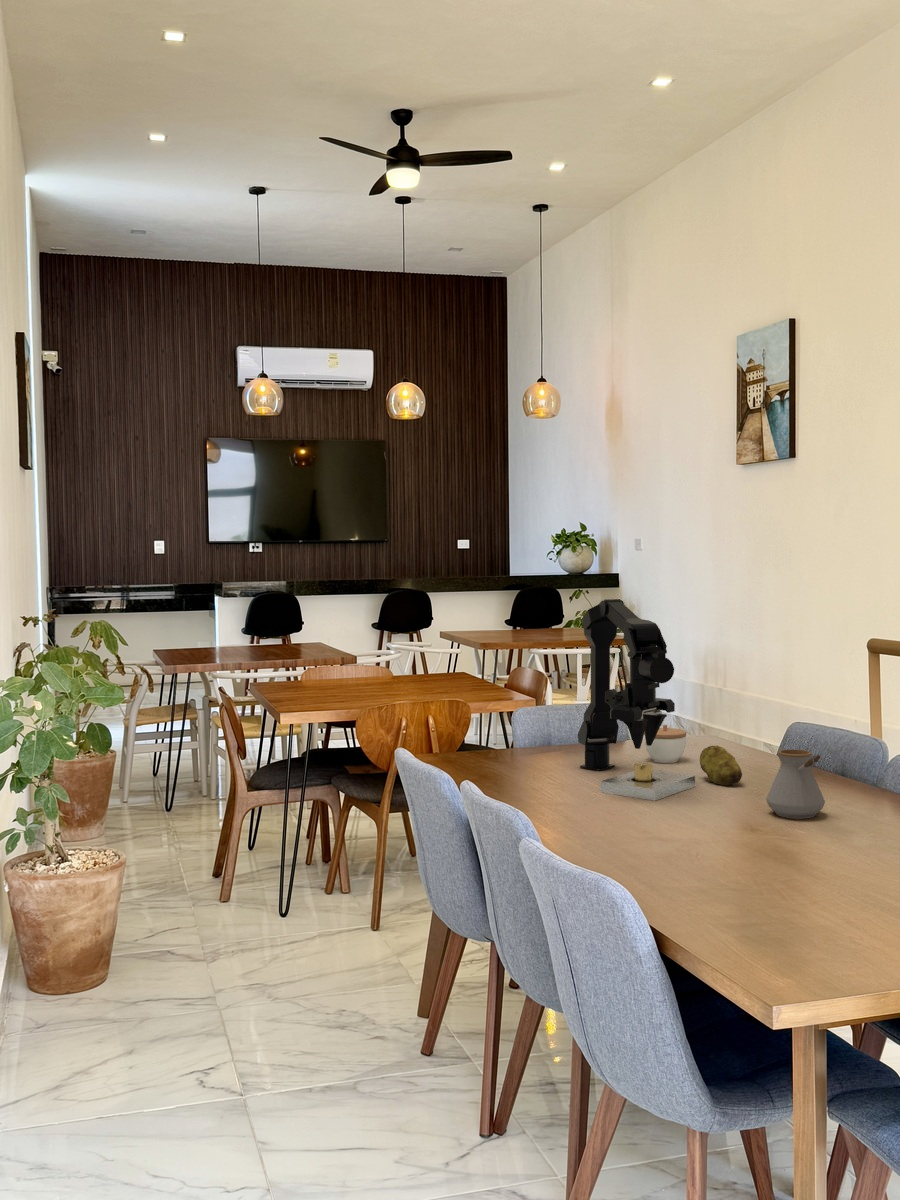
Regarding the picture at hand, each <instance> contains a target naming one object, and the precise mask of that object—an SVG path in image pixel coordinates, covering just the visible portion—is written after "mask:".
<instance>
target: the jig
mask: <svg viewBox="0 0 900 1200" xmlns="http://www.w3.org/2000/svg"><path fill="white" fill-rule="evenodd" d="M599 785H600V787H599V788H600V789H599V790H600V793H603V794H609V795H617V796H622V797H623V796H625V797H628V798H636V799H640V800H641V799H643V800H648V801H657V800H660V799H664V798H667V797H670V796H672V795H675V794H678V793H681V792H683V791H686V790H689V789H692V788H695V787H696V775H692V774H685V773H677V772H670V771H662V770H655V769H652V782H648V783H644V782H635V771H634V770H633V771H629V772H627V773H623V774H619V775H617V776H613V777H609V778H607V779H603V780H600V783H599Z"/></svg>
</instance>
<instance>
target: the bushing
mask: <svg viewBox="0 0 900 1200" xmlns="http://www.w3.org/2000/svg"><path fill="white" fill-rule="evenodd" d="M633 766H634V767H633V768H634V770H633V771H635V782H644V783H648V782H652V770H653V764H652V763H648V762H638V763H637V762H636V763H635V764H634V765H633Z"/></svg>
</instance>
